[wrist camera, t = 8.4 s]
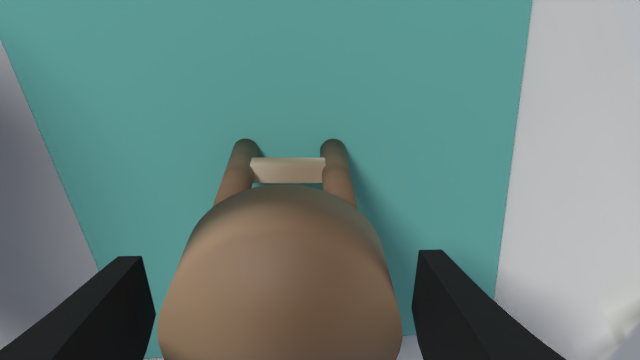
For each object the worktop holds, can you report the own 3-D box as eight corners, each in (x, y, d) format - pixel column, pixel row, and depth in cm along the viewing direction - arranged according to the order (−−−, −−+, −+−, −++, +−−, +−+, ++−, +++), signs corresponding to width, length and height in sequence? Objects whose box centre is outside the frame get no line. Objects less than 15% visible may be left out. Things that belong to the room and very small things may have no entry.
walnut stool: (222, 248, 17) (175, 420, 11) (207, 117, 15) (135, 244, 8) (360, 247, 17) (390, 416, 11) (369, 118, 15) (416, 242, 9)
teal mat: (140, 350, 20) (137, 359, 20) (-17, -30, 13) (-29, -29, 12) (485, 319, 20) (489, 327, 20) (535, -88, 12) (543, -89, 12)
